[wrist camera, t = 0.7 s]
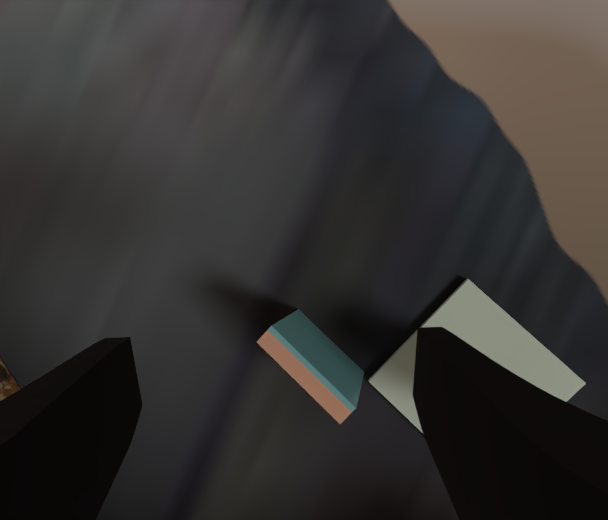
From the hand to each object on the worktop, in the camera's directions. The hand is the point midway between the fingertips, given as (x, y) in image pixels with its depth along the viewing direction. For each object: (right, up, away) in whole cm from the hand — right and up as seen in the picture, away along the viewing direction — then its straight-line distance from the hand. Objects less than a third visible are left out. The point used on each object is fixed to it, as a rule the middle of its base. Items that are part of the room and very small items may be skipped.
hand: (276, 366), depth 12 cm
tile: (+2, -3, +19) cm, 19 cm away
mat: (+11, -5, +17) cm, 21 cm away
